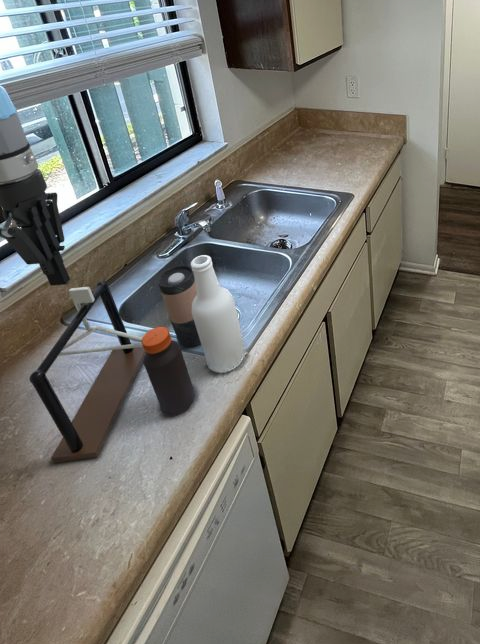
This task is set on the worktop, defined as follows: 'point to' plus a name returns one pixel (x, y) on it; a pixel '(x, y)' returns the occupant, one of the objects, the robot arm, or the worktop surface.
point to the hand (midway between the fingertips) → (60, 282)
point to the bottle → (167, 371)
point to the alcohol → (216, 319)
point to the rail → (104, 395)
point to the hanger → (86, 296)
